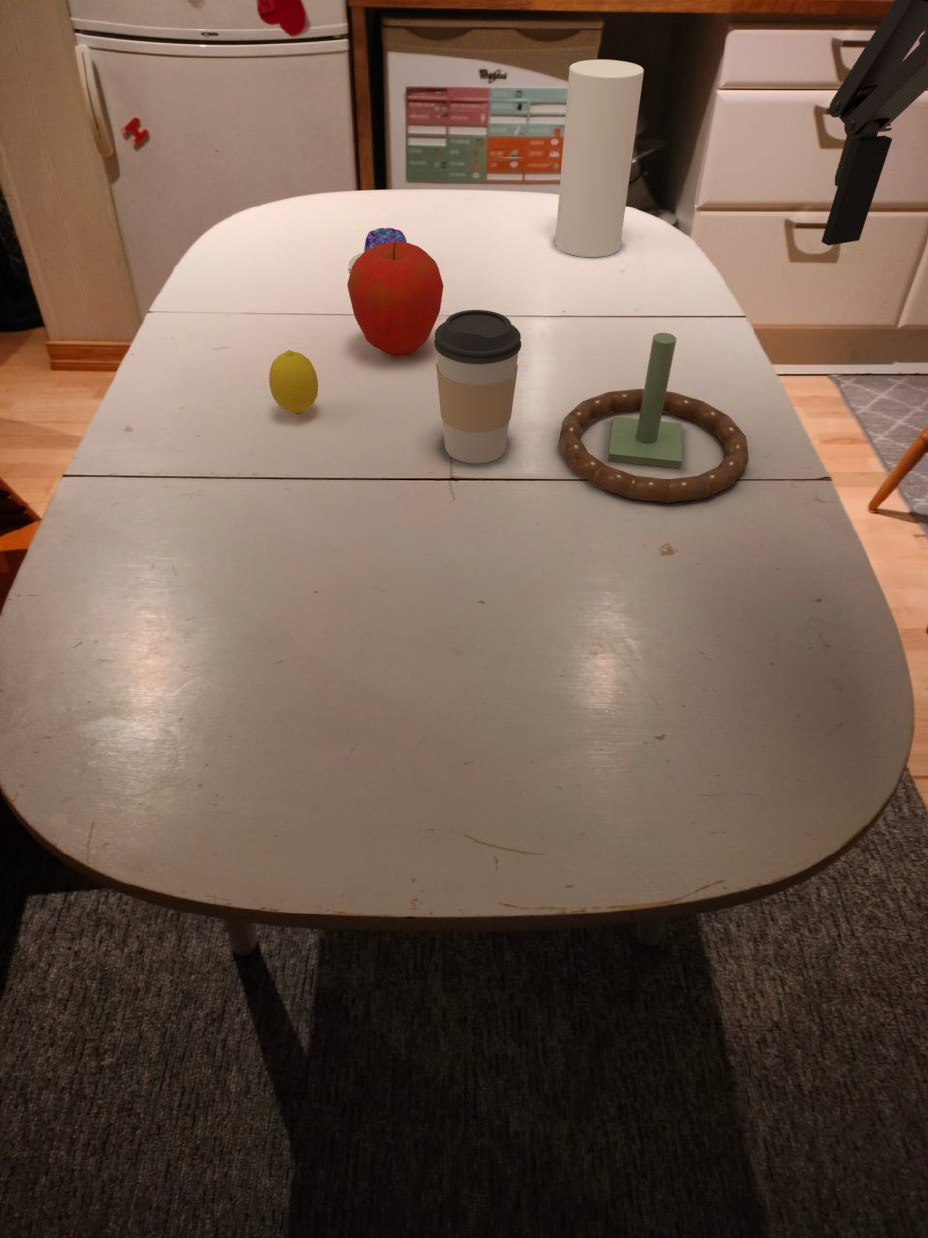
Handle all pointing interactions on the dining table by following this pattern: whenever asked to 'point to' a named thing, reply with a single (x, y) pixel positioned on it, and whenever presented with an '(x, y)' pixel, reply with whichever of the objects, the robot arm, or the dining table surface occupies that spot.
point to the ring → (651, 486)
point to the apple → (395, 296)
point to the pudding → (380, 240)
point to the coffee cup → (476, 382)
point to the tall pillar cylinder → (597, 155)
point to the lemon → (293, 382)
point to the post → (650, 417)
